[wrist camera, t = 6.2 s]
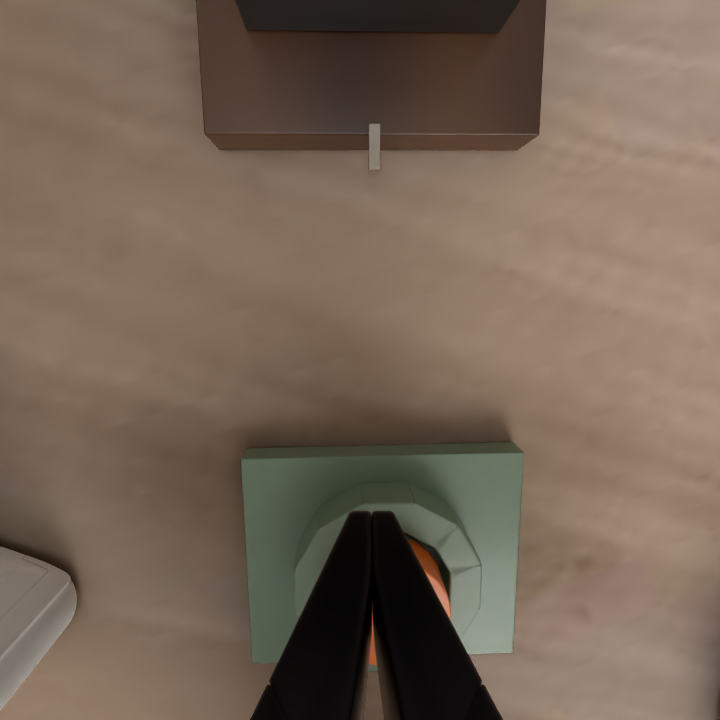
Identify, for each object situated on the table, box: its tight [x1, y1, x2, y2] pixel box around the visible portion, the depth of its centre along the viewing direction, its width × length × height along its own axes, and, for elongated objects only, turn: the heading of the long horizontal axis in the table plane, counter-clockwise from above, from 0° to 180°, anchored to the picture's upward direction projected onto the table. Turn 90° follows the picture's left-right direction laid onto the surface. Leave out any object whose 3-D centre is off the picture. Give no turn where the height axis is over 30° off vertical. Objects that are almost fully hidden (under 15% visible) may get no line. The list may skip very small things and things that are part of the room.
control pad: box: [241, 442, 524, 672], centre depth 19 cm, size 11×9×3 cm
